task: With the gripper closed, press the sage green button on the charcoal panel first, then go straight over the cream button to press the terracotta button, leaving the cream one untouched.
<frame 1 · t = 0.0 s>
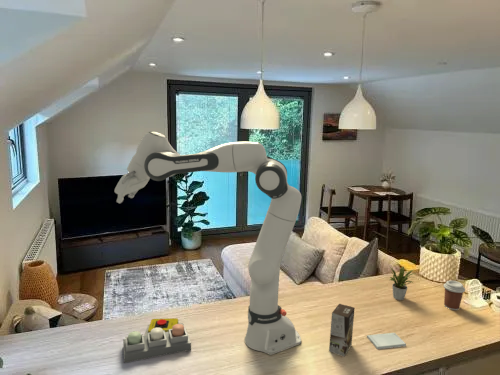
hand: (124, 199, 144), 54 cm above the kitchen counter, tool tilted 30°, fingers open, 8 cm apart
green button: (134, 338, 136), point 6 cm above the kitchen counter, slide at 0.0 cm
hard drive: (385, 343, 147), on the kitchen counter
coffee box: (340, 348, 142), on the kitchen counter
terracotta button: (178, 330, 141), point 6 cm above the kitchen counter, slide at 0.0 cm
emergency button: (164, 331, 152), on the kitchen counter
panel: (157, 348, 140), on the kitchen counter
coffee cup: (451, 307, 177), on the kitchen counter
house plant: (400, 299, 183), on the kitchen counter
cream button: (156, 334, 139), point 6 cm above the kitchen counter, slide at 0.0 cm
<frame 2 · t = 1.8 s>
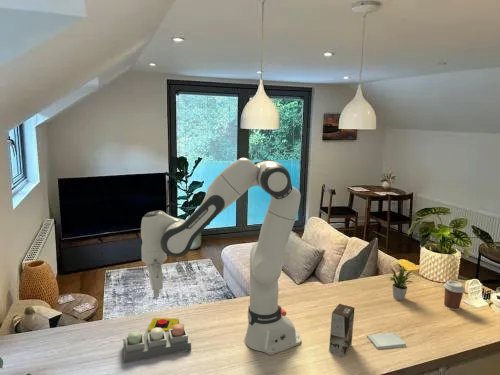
hand: (155, 290, 136), 23 cm above the kitchen counter, tool pointing down, fingers open, 8 cm apart
nothing on the kitchen counter moved.
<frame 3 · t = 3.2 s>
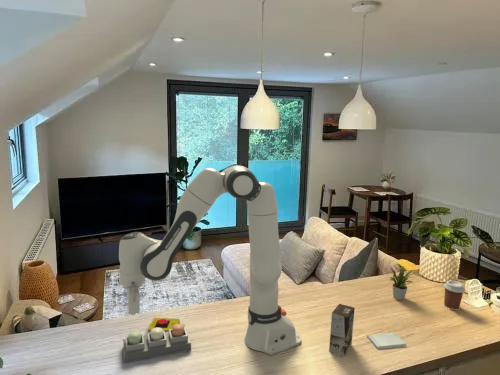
hand: (133, 312, 134), 16 cm above the kitchen counter, tool pointing down, fingers closed
nothing on the kitchen counter moved.
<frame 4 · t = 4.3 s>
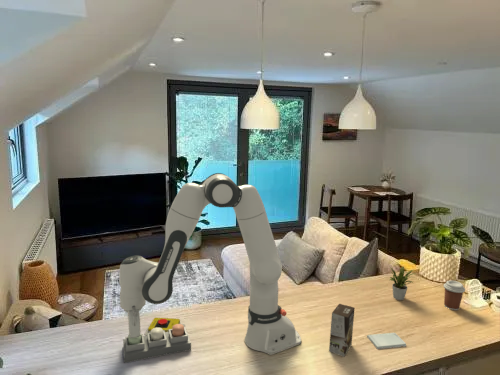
hand: (134, 334, 136), 7 cm above the kitchen counter, tool pointing down, fingers closed, pressing on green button
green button: (134, 338, 136), point 6 cm above the kitchen counter, slide at 0.2 cm, touching gripper
everything else where it was.
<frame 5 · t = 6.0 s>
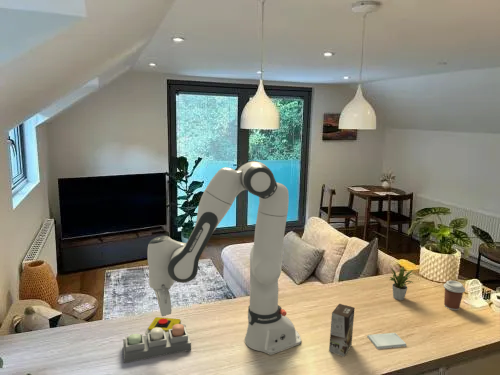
hand: (163, 314, 138), 14 cm above the kitchen counter, tool pointing down, fingers closed
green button: (134, 340, 136), point 5 cm above the kitchen counter, slide at 1.0 cm
everything else where it was.
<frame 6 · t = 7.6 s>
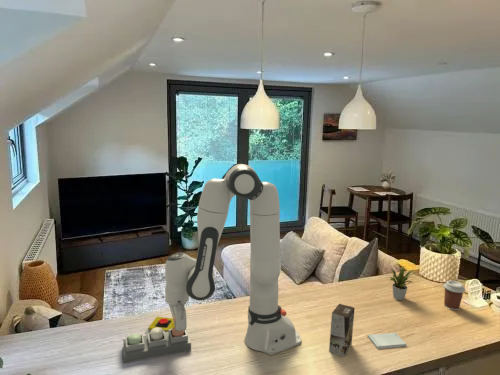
hand: (177, 328, 141), 7 cm above the kitchen counter, tool pointing down, fingers closed, pressing on terracotta button
terracotta button: (178, 332, 141), point 5 cm above the kitchen counter, slide at 0.7 cm, touching gripper
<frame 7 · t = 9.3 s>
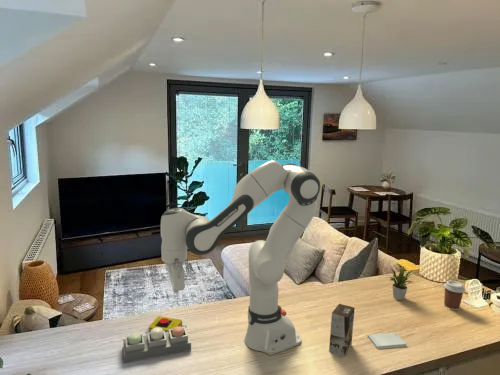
hand: (175, 291, 130), 26 cm above the kitchen counter, tool pointing down, fingers closed
terracotta button: (178, 333, 141), point 5 cm above the kitchen counter, slide at 1.1 cm
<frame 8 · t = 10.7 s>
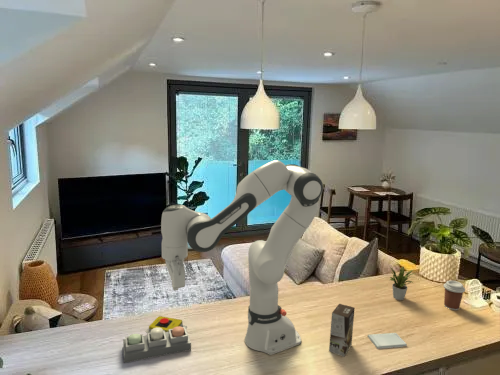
hand: (175, 288, 129), 27 cm above the kitchen counter, tool pointing down, fingers closed
at the end: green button slide at 1.0 cm; terracotta button slide at 1.1 cm; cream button slide at 0.0 cm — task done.
